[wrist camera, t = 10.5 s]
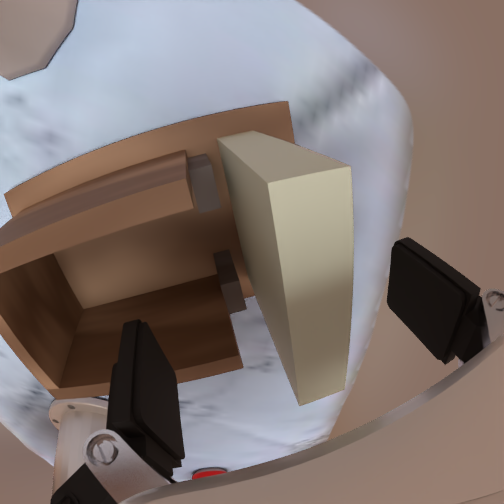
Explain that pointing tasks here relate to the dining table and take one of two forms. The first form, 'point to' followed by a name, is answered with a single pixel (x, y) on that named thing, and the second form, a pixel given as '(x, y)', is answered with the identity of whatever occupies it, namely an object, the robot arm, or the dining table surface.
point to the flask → (32, 33)
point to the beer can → (207, 472)
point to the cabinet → (129, 255)
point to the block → (296, 253)
